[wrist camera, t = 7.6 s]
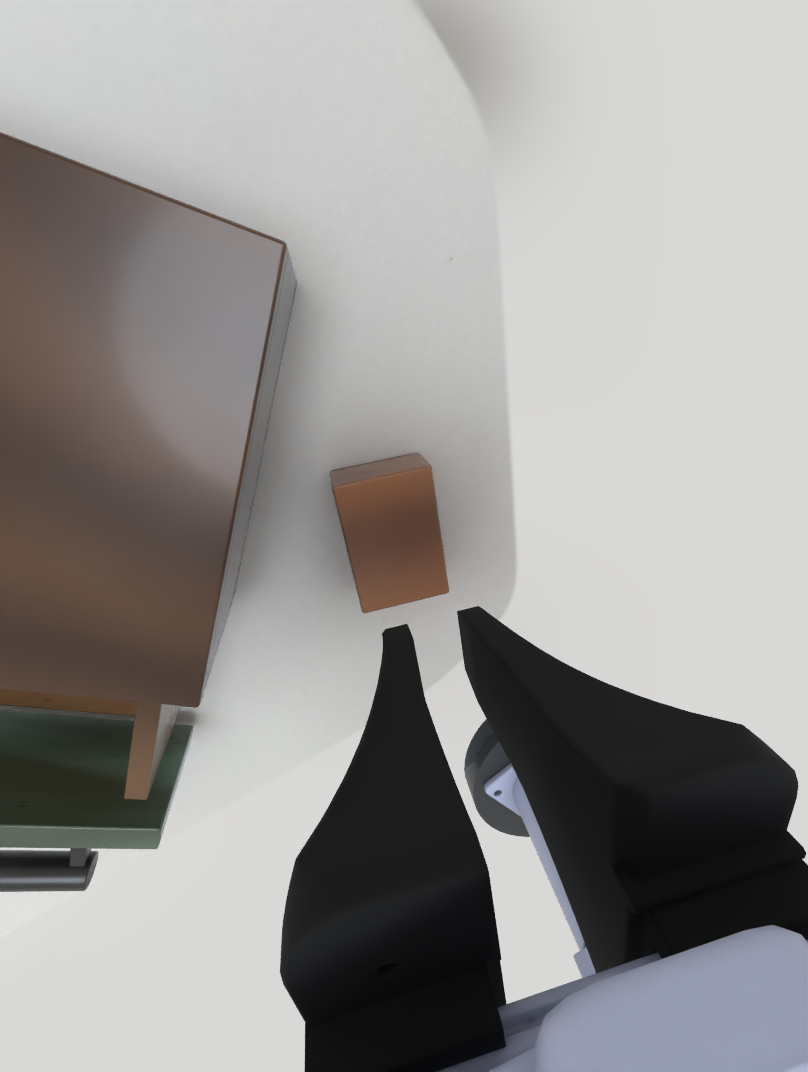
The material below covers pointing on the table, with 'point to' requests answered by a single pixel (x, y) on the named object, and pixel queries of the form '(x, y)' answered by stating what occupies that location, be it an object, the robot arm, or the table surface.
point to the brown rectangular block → (391, 530)
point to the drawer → (82, 784)
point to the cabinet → (126, 426)
